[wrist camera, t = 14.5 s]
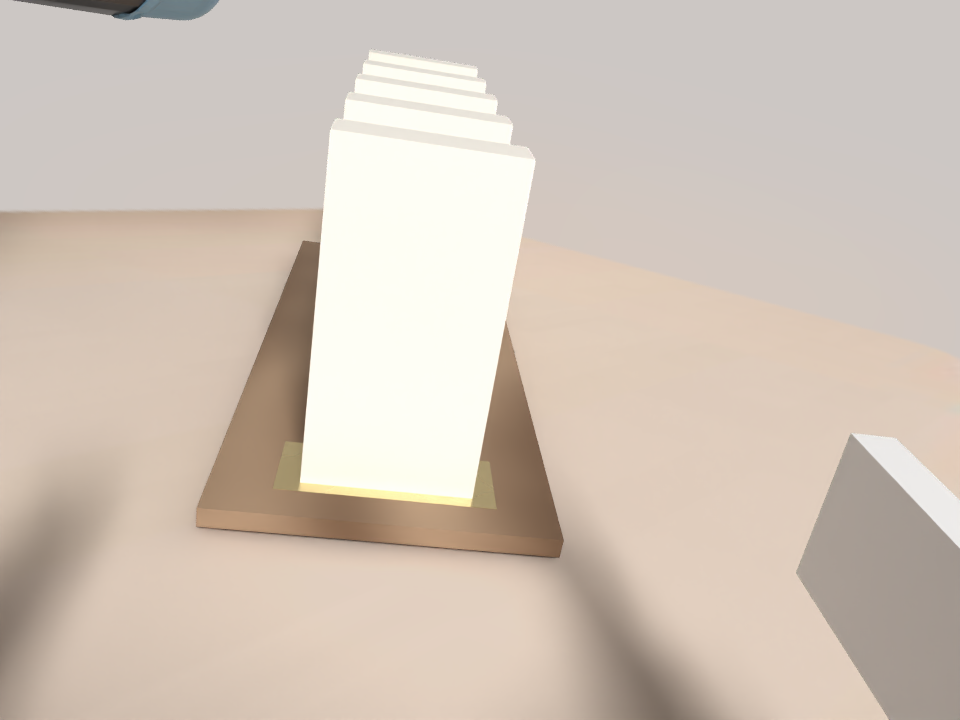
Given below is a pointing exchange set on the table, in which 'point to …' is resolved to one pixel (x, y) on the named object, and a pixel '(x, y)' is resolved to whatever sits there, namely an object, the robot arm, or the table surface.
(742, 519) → the table surface
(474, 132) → the domino
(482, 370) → the domino
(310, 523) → the board
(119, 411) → the table surface
